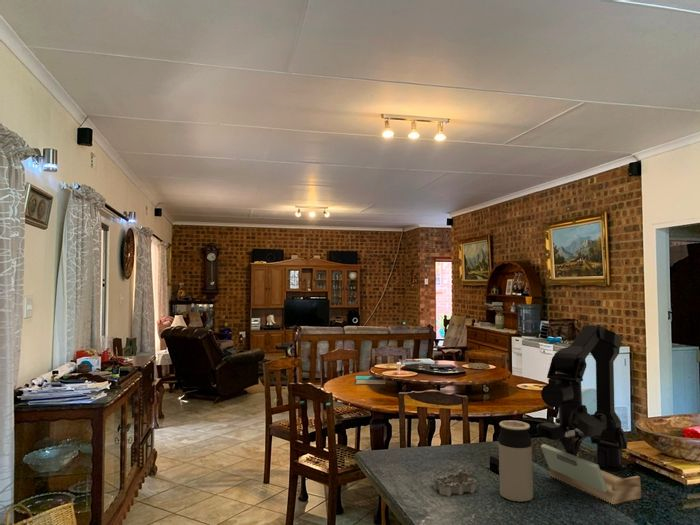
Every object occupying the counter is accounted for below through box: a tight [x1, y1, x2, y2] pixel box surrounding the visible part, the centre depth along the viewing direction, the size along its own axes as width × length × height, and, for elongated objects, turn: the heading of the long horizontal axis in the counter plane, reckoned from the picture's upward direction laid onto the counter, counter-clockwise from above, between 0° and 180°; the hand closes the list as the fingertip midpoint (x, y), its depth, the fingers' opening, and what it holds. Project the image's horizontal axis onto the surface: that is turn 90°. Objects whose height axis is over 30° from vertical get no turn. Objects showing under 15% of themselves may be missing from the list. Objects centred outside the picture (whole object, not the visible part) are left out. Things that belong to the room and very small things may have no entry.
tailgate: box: [540, 443, 608, 493], centre depth 127 cm, size 2×18×7 cm, turn 22°
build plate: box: [484, 453, 499, 476], centre depth 141 cm, size 12×7×5 cm, turn 27°
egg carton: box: [431, 468, 478, 497], centre depth 128 cm, size 11×8×4 cm
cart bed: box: [549, 452, 642, 505], centre depth 129 cm, size 10×20×5 cm, turn 22°
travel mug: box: [498, 419, 534, 503], centre depth 124 cm, size 8×8×18 cm
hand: (572, 460), depth 127 cm, fingers closed
